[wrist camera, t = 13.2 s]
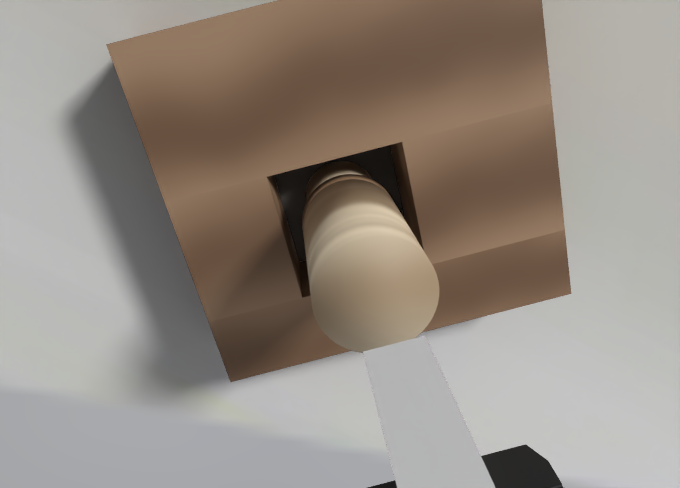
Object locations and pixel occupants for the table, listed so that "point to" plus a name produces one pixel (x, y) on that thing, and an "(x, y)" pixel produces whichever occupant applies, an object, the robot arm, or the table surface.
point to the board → (352, 152)
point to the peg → (364, 262)
